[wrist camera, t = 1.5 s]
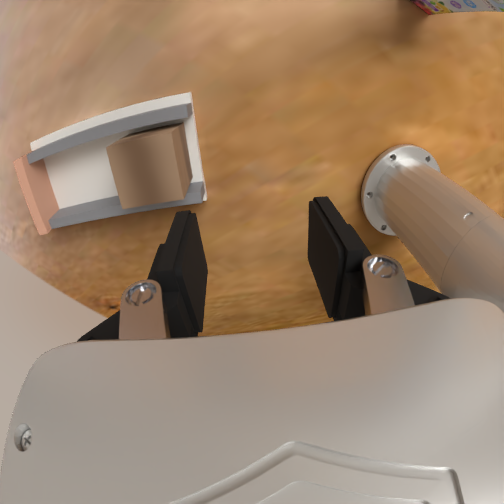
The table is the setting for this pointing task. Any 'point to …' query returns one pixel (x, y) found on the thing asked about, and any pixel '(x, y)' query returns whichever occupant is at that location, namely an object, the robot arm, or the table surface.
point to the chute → (98, 164)
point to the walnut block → (151, 166)
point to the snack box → (459, 5)
